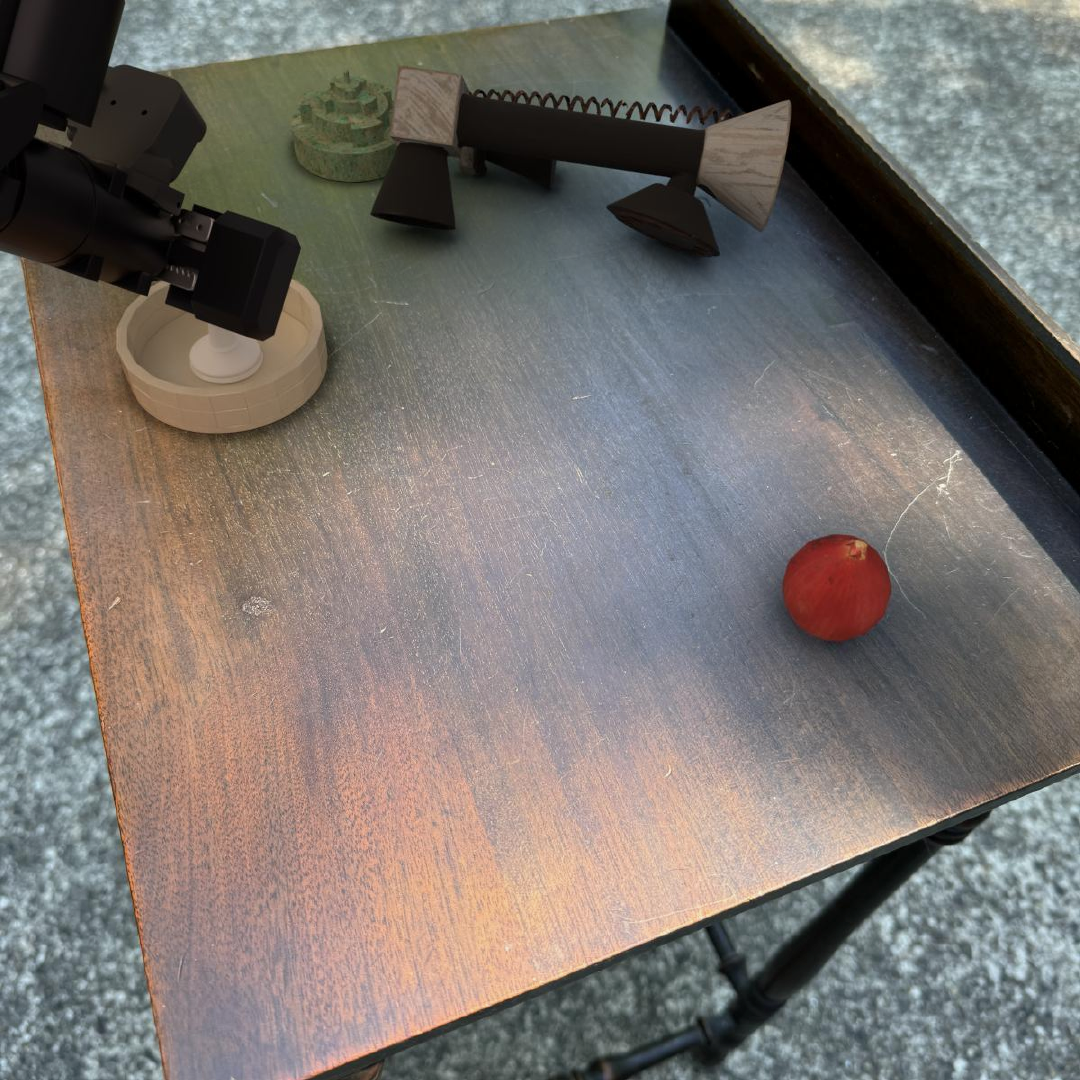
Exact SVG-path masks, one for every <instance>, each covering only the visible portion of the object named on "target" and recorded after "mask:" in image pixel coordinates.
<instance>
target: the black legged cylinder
mask: <svg viewBox="0 0 1080 1080" xmlns="http://www.w3.org/2000/svg"><path fill="white" fill-rule="evenodd" d="M530 93H531V94H530V96H529V95H528V94H527V92H526V91H524V90H522V89H521V90H520V89H519V90H518V91H517V92H516V93H515V94H514V93H513V92H512V91H511V90H510V89H504V90H503V92H502V94H501V93H500V91H496V90H495V89H494V88H491V89H489V90H488V92H487V93H486V92H485V91H484V90H482V89H480V88H477V89H475V90H474V91H473V93H472V91H470V90H469V87H468V84H467V83H466V81H465V79H464V77H463V75H462V74H460V73H454V72H446V71H440V70H434V69H427V68H420V67H413V66H408V65H398V67H397V75H396V83H395V92H394V100H393V101H394V107H393V115H392V124H391V132H390V137H391V138H392V139H394V141H395V142H396V145H397V148H396V152H395V154H394V157H393V159H392V162H391V164H390V167H389V169H388V171H387V174H386V176H385V177H384V179H383V181H382V184H381V186H380V188H379V191H378V193H377V195H376V198H375V200H374V203H373V205H372V208H371V211H370V216H372V217H374V218H376V219H380V220H383V221H386V222H391V223H395V224H400V225H403V226H411V227H416V228H422V229H428V230H429V229H430V230H437V231H456V230H457V225H456V224H457V223H456V216H455V215H456V214H455V208H454V199H453V193H452V185H451V177H450V176H451V175H450V169H449V162H448V161H449V160H448V157H449V158H456V159H458V168H459V169H460V170H461V172H462V173H463V174H466V175H467V174H468V175H473V176H474V175H475V176H477V175H478V177H485V176H486V175H487V174H488V167H487V164H486V162H488V163H491V164H493V165H494V166H497V167H500V168H502V169H505V170H507V171H509V172H511V173H514V174H516V175H518V176H521V177H523V178H524V179H527V180H529V181H532V182H534V183H537V184H539V185H541V186H544V187H547V188H548V189H550V190H552V188H553V184H554V179H555V174H556V169H557V168H556V167H557V163H558V162H564V163H569V164H577V165H583V166H591V167H598V168H604V169H610V170H616V171H624V172H628V173H636V174H642V175H649V176H655V177H656V176H657V177H663V178H669V180H668V182H667V183H666V184H663V183H660V182H654V183H652V184H650V185H647V186H646V187H643V188H642V189H639V190H636V191H635V192H632V193H631V194H629V195H625V196H624V197H622V198H620V199H618V200H616V201H613V202H612V203H610V204H608V205H606V209H607V211H608V212H610V213H611V214H612V215H614V217H615V219H617V220H618V221H619V222H620V223H622V224H623V225H624V226H626V227H628V228H630V229H631V230H634V231H635V232H638V233H639V234H641V235H643V236H646V237H647V238H650V239H653V240H654V241H657V242H658V243H661V244H663V245H666V246H668V247H671V248H674V249H676V250H679V251H682V252H684V253H688V254H690V255H691V254H692V255H694V256H699V257H703V258H712V257H720V256H721V252H720V249H719V246H718V242H717V239H716V237H715V234H714V230H713V228H712V225H711V221H710V219H709V216H708V213H707V210H706V208H705V205H704V202H703V201H701V200H700V199H699V198H697V197H696V196H695V195H696V191H697V188H698V189H700V190H701V191H703V192H704V193H706V194H707V195H708V196H710V197H711V198H712V199H714V200H715V201H716V202H718V203H719V204H721V205H722V206H723V207H725V208H726V209H727V210H728V211H730V212H732V214H734V215H735V216H736V217H738V218H739V219H741V220H742V221H744V222H745V223H746V224H748V225H749V226H751V227H752V228H753V229H755V230H756V231H758V232H759V233H763V231H764V230H765V228H766V227H767V225H768V222H769V220H770V217H771V214H772V211H773V208H774V204H775V202H776V197H777V194H778V190H779V186H780V181H781V178H782V173H783V169H784V165H785V160H786V154H787V148H788V144H789V143H788V142H789V136H790V129H791V119H792V103H791V100H790V99H786V100H782V101H779V102H776V103H774V104H770V105H767V106H765V107H762V108H759V109H756V110H753V111H750V112H748V113H747V112H746V111H740V112H739V113H737V115H736V116H735V117H734V114H733V112H732V111H731V110H730V109H728V108H727V109H724V110H723V111H722V112H721V113H720V115H719V114H718V111H717V109H715V107H714V106H713V107H710V108H709V109H708V110H707V111H706V112H705V115H704V114H703V110H702V107H701V106H699V105H696V106H693V108H692V109H691V110H690V112H689V113H688V111H687V110H688V109H687V108H686V105H684V104H680V105H679V106H678V107H677V108H676V109H675V111H674V113H673V107H672V105H671V104H668V103H663V104H662V105H661V106H660V108H659V110H658V106H657V105H656V103H655V102H654V101H653V102H652V101H651V102H648V103H647V105H646V107H645V109H644V107H643V106H642V103H641V102H640V101H637V100H636V101H634V102H633V103H632V104H631V105H630V107H629V106H628V104H627V102H626V101H625V100H623V99H621V100H619V101H617V104H616V105H615V106H614V103H613V101H612V99H610V98H609V97H606V98H604V99H603V100H601V104H600V102H599V101H598V99H597V97H595V96H593V95H592V96H590V97H589V98H588V99H587V100H586V102H585V100H584V98H583V97H582V96H580V95H575V96H574V97H573V98H572V99H571V98H570V97H569V96H568V95H565V94H562V95H560V96H559V97H558V100H557V98H556V96H555V94H554V93H552V92H548V93H546V94H545V95H544V96H543V98H542V96H541V95H540V93H539V92H538V91H537V90H534V91H532V92H530ZM479 94H481V95H482V96H478V95H479ZM493 95H495V96H496V97H497V99H496V98H492V97H493ZM507 95H508V96H509V97H510V100H511V101H510V100H505V99H506V96H507ZM521 96H522V97H523V99H524V102H525V103H523V102H518V101H519V99H520V98H521ZM535 97H536V98H537V101H538V103H539V105H537V104H532V101H533V98H535ZM549 99H551V101H552V102H551V103H552V106H553V107H549V106H546V104H547V102H548V100H549ZM564 99H565V103H566V108H567V109H562V108H559V106H561V104H562V102H563V100H564ZM577 102H579V103H580V107H581V111H576V110H574V109H575V106H576V103H577ZM591 103H593V104H594V105H595V108H596V113H589V112H588V111H589V108H590V106H591ZM606 105H608V107H609V113H610V115H603V114H602V109H603V108H604V107H605V106H606ZM621 106H622V107H626V108H627V109H628V110H627V111H626V113H625V116H626V117H625V118H623V117H618V116H617V114H618V113H619V112H618V111H619V110H620V108H621ZM636 107H637V109H638V114H639V120H637V119H631V118H632V115H633V113H634V110H635V109H636ZM651 109H652V111H653V114H654V119H655V122H649V121H646V120H647V116H648V113H649V112H650V110H651ZM665 110H668V111H669V112H670V113H669V123H672V124H675V122H676V120H677V118H678V116H679V114H680V112H681V111H682V114H683V116H684V117H686V125H689V124H690V122H691V121H692V119H693V116H694V115H695V114H696V112H697V115H698V120H699V124H701V125H702V126H705V124H706V120H708V118H710V116H711V115H713V120H714V124H712V125H709V126H707V128H703V129H696V128H690V127H682V126H677V125H669V124H664V123H663V124H662V123H660V122H661V120H662V117H663V114H664V111H665ZM616 116H617V117H616ZM726 116H728V119H726V120H724V119H725V117H726Z"/></svg>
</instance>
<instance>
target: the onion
mask: <svg viewBox="0 0 1080 1080" xmlns="http://www.w3.org/2000/svg"><path fill="white" fill-rule="evenodd" d="M887 565H888V564H886V562H885V561H884V560H883V558H882V557H881V555H880V553H879V552H878V551H877V550H876V549H875V548H874V547H872V546H871V545H870V544H869V543H868V542H867V541H866V540H864V539H861V538H859V537H857V536H854V535H852V534H850V535H849V534H839V533H832V534H828V535H825V536H821V537H818V538H815V539H812V540H809V541H808V542H807V543H805V544H804V545H803V546H802V547H801V548H800V549H799V550H798V551H797V552H796V553H794V555H793V556H791V558H790V559H789V561H788V563H787V565H786V568H785V571H784V574H783V579H782V582H781V584H782V585H781V586H782V595H783V601H784V606H785V608H786V610H787V611H788V614H789V615H790V617H791V618H792V620H793V622H794V624H796V626H798V627H799V628H800V629H802V630H803V631H804V632H806V633H807V634H808V635H811V636H812V637H815V638H817V639H820V640H823V641H827V642H841V643H842V642H845V641H848V640H850V639H854V638H857V637H860V636H863V635H866V634H867V633H869V631H870V630H871V629H873V628H874V627H875V626H876V625H877V624H878V623H879V622H881V620H882V619H883V618H884V616H885V614H886V610H887V608H888V605H889V601H890V599H891V596H892V583H891V578H890V572H889V568H888V566H887Z"/></svg>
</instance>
